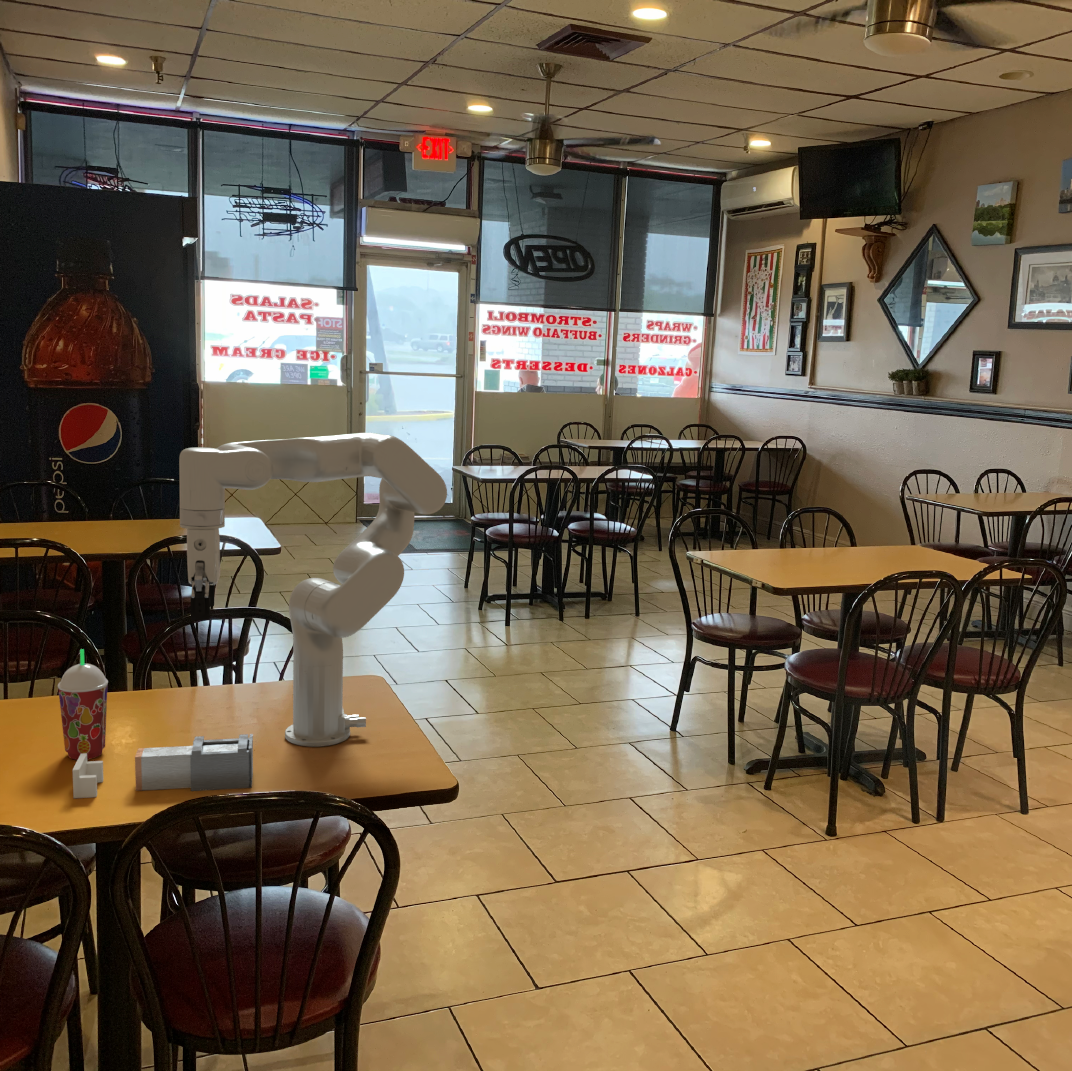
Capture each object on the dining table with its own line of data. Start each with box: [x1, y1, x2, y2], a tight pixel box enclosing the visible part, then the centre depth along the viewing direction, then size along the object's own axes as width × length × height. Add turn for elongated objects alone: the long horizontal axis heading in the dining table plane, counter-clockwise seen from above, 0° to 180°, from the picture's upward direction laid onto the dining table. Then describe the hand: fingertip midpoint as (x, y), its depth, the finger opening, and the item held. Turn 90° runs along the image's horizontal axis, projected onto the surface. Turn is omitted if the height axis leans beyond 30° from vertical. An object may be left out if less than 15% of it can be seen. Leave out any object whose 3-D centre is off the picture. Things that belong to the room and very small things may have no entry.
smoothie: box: [57, 648, 109, 761], centre depth 186 cm, size 8×8×20 cm
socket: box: [72, 753, 104, 799], centre depth 173 cm, size 4×7×5 cm, turn 14°
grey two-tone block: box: [134, 744, 238, 791], centre depth 177 cm, size 18×4×6 cm, turn 104°
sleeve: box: [190, 733, 254, 792], centre depth 178 cm, size 10×7×7 cm
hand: (202, 612), depth 182 cm, fingers open, 9 cm apart
